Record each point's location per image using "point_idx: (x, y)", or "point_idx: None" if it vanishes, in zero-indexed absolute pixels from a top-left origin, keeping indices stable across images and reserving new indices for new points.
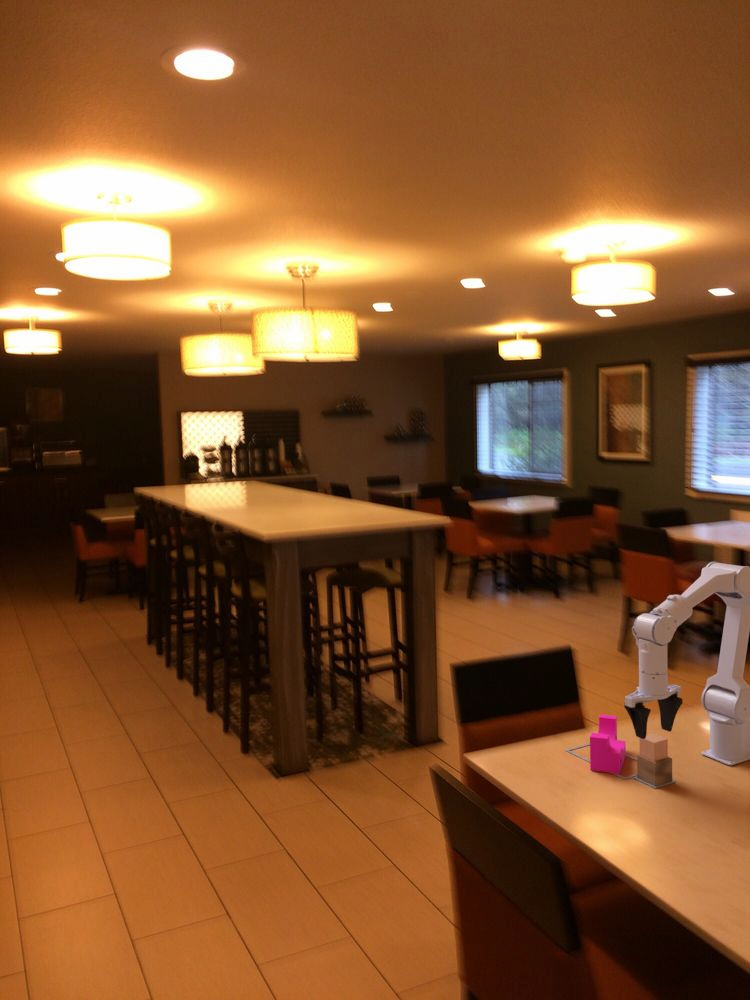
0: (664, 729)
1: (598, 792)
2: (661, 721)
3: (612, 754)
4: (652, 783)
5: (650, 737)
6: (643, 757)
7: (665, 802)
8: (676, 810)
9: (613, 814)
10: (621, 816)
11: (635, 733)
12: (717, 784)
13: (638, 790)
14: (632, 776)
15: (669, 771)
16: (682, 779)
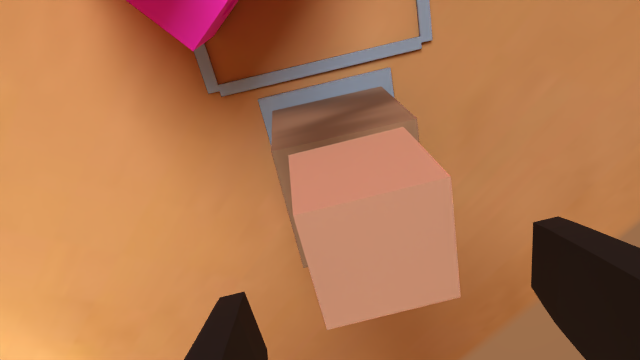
0: (533, 249)
1: (31, 176)
2: (582, 256)
3: (152, 17)
4: None
5: (370, 245)
6: (290, 190)
7: (263, 302)
8: None
9: (38, 331)
10: (63, 346)
11: (210, 314)
12: (523, 239)
13: (217, 205)
14: (261, 85)
15: None
16: (447, 171)
